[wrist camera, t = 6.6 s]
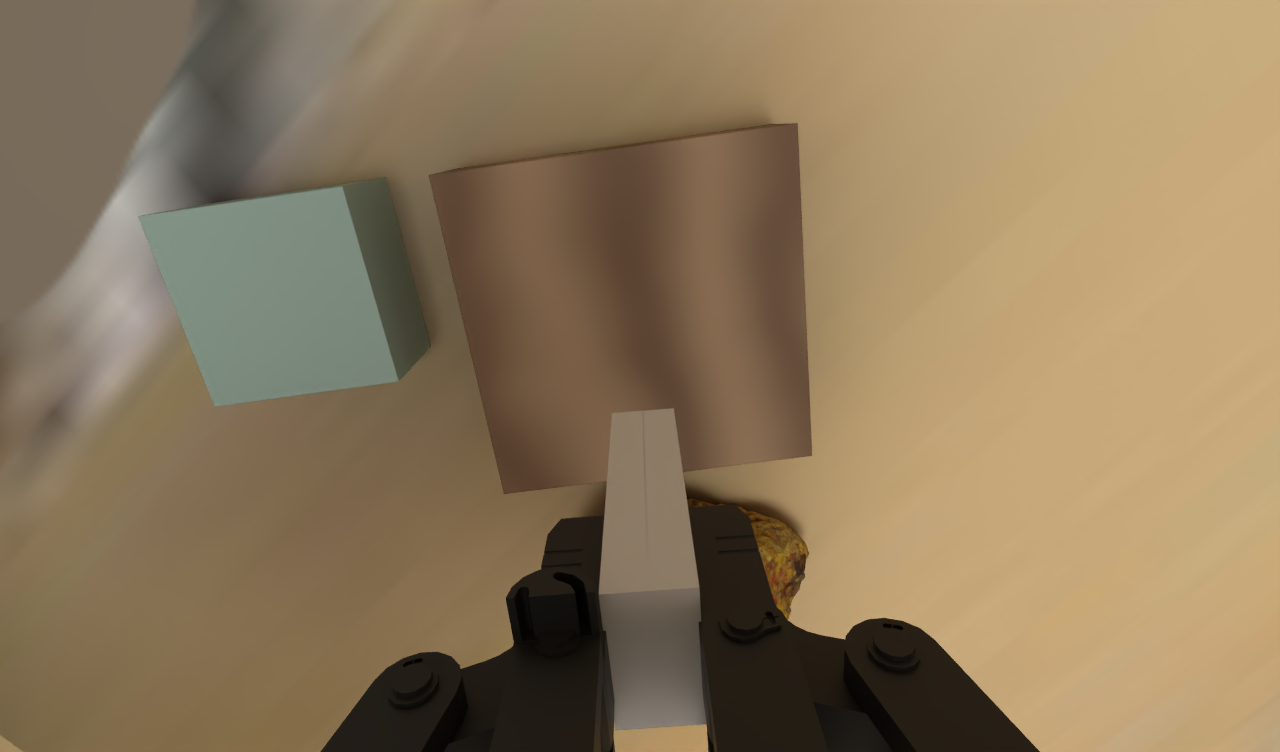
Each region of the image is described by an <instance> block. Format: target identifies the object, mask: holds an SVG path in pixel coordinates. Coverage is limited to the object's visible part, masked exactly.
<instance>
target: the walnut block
mask: <svg viewBox="0 0 1280 752" xmlns="http://www.w3.org/2000/svg"><path fill="white" fill-rule="evenodd" d="M429 178H430V183H431V187H432V191H433V195H434V200H435V204H436V208H437V212H438V217H439V221H440V225H441V229H442V233H443V238H444V242H445V246H446V250H447V255H448V259H449V263H450V267H451V272H452V276H453V280H454V284H455V288H456V293H457V297H458V301H459V305H460V310H461V314H462V318H463V322H464V326H465V331H466V335H467V339H468V343H469V348H470V352H471V356H472V360H473V365H474V369H475V373H476V377H477V381H478V386H479V390H480V394H481V398H482V403H483V407H484V411H485V415H486V419H487V424H488V428H489V432H490V436H491V441H492V445H493V449H494V453H495V458H496V462H497V466H498V470H499V474H500V479H501V483H502V487H503V491H504V494H508V493H516V492H524V491H532V490H540V489H548V488H557V487H565V486H573V485H581V484H589V483H597V482H605V481H607V474H608V461H609V447H610V434H611V420H612V413H619V412H632V411H645V410H658V409H671V408H674V413H675V420H676V427H677V434H678V441H679V448H680V455H681V462H682V469H683V472H685V471H693V470H701V469H709V468H717V467H725V466H733V465H741V464H749V463H757V462H765V461H773V460H781V459H789V458H797V457H805V456H812V444H811V421H810V398H809V375H808V352H807V329H806V306H805V283H804V260H803V237H802V215H801V192H800V169H799V146H798V123H795V124H770V125H763V126H756V127H749V128H742V129H735V130H728V131H721V132H714V133H706V134H699V135H692V136H685V137H678V138H671V139H664V140H657V141H650V142H642V143H635V144H628V145H621V146H614V147H607V148H600V149H593V150H586V151H578V152H571V153H564V154H557V155H550V156H543V157H536V158H529V159H522V160H515V161H507V162H500V163H493V164H486V165H479V166H472V167H465V168H458V169H454V170H449V171H445V172H441V173H436V174H432V175H429Z"/></svg>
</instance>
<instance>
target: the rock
mask: <svg viewBox="0 0 1280 752" xmlns="http://www.w3.org/2000/svg"><path fill="white" fill-rule="evenodd" d="M687 504H688V508H691V507H705V506H718V505H714V504H711V503H707V502H703V501H700V500H697V499H687ZM719 505H723V504H721V503H720V504H719ZM738 508H739V509H741V510H742V511H743V512H744V513H745V514H746V515H747V516H748V517H749V518H750V521H751V525H752V528H753V531H754V535H755V538H756V542H757V545H758V548H759V552H760V555H761V558H762V562H763V565H764V569H765V572H766V575H767V579H768V582H769V585H770V589H771V592H772V596H773V599H774V602H775V604H776V606H777V608H778V609H780V610H781V611H782V612H783V614H784V615H785V617H786V619H787V620H788V618H789V615H790V612H791V609H790V606H791V602H792V599H793V597H794V596H795V595H796V593H797V592H798V591H799V588H800V584H801V581H802V580H803V579H804V578H805V574H804V570H805V563H806V559H807V557H808V555H809V552H808V549H807V546H806V544H805V542H804V541H803V540H802V538H801V537H800V536H799V535H798V534H797V533H796V532H795V531H793V530H792V529H791V528H789V527H788V526H787V525H785V524H784V523H783V522H781V521H779V520H777V519H774V518H770V517H767V516H764V515H761V514H759V513H756V512H753V511H750V512H748V511H746V510H745V509H743V508H741V507H739V506H738Z"/></svg>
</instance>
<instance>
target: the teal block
mask: <svg viewBox="0 0 1280 752" xmlns="http://www.w3.org/2000/svg"><path fill="white" fill-rule="evenodd" d="M138 218H139V220H140V223H141V225H142V228H143V230H144V232H145V235H146V237H147V240H148V242H149V245H150V247H151V250H152V252H153V255H154V257H155V260H156V262H157V265H158V267H159V270H160V272H161V275H162V277H163V280H164V282H165V285H166V287H167V290H168V292H169V295H170V297H171V300H172V302H173V304H174V307H175V309H176V312H177V314H178V317H179V319H180V322H181V324H182V327H183V329H184V332H185V334H186V337H187V339H188V342H189V344H190V347H191V349H192V352H193V354H194V357H195V359H196V362H197V364H198V367H199V369H200V372H201V374H202V376H203V379H204V381H205V384H206V386H207V389H208V391H209V394H210V396H211V399H212V401H213V404H214V406H215V407H216V406H224V405H231V404H238V403H246V402H253V401H260V400H267V399H275V398H282V397H289V396H297V395H304V394H311V393H319V392H326V391H333V390H341V389H348V388H355V387H362V386H370V385H377V384H384V383H392V382H399V381H400V380H401V378H402V377H403V376H404V375H405V374H406V373H407V372H408V371H409V370H410V369H411V367H412V366H413V365H414V364H415V363H416V362H417V361H418V360H419V359H420V357H421V356H422V355H423V354H424V353H425V352H426V351H427V350H428V349H429V348H430V346H431V345H430V341H429V337H428V334H427V330H426V326H425V322H424V319H423V315H422V311H421V307H420V304H419V300H418V296H417V292H416V289H415V285H414V281H413V277H412V274H411V270H410V266H409V262H408V258H407V255H406V251H405V247H404V243H403V240H402V236H401V232H400V228H399V225H398V221H397V217H396V213H395V210H394V206H393V202H392V198H391V195H390V191H389V187H388V183H387V180H386V178H379V179H372V180H366V181H359V182H352V183H345V184H338V185H332V186H325V187H318V188H311V189H305V190H298V191H291V192H284V193H277V194H271V195H264V196H257V197H250V198H244V199H237V200H230V201H223V202H216V203H210V204H205V205H199V206H193V207H188V208H182V209H177V210H171V211H166V212H160V213H154V214H149V215H143V216H138Z"/></svg>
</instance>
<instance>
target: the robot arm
mask: <svg viewBox="0 0 1280 752" xmlns="http://www.w3.org/2000/svg"><path fill="white" fill-rule="evenodd" d="M541 567H542V569H541V570H538V571H536V572H534V573H532V574H529V575H527V576H525V577H523V578H522V579H521V580H520V581H518V582H517V583H516V584H515V585H514V586H513V587H512V588H511V590H510V592H509V593H508V595H507V597H506V602H507V608H508V613H509V618H510V623H511V629H512V634H513V639H514V645H513V647H511V648H510V649H509V650H507V651H506V652H504V653H502V654H501V655H499V656H497V657H494V658H492V659H490V660H487V661H485V662H481V663H478V664H475V665H472V666H469V667H466V668H463V669H460V665H459V664H458V663H457V662H456V661H455V660H454V659H453V658H452V657H451V656H449V655H446V654H442V653H439V652H425V653H418V654H415V655H412V656H409V657H406V658H403V659H401V660H400V661H398V662H396V663H395V664H393V665H391V666H390V667H388V668H387V669H385V670H384V671H383V672H382V673H381V674H380V675H379V676H378V677H377V678H376V679H375V680H374V682H373V683H372V684H371V686H370V687H369V688H368V690H367V691H366V692H365V694H364V695H363V696H362V698H361V699H360V700H359V702H358V703H357V704H356V705H355V707H354V708H353V709H352V711H351V712H350V713H349V715H348V716H347V717H346V719H345V720H344V721H343V723H342V724H341V725H340V727H339V728H338V729H337V731H336V732H335V733H334V735H333V736H332V737H331V739H330V740H329V741H328V743H327V744H326V745H325V747H324V748H323V749H322V751H321V752H615V747H614V739H613V734H614V722H615V730H627V729H642V728H657V727H672V726H686V725H701V724H707V735H708V752H1040V751H1039V750H1038V749H1037V748H1036V747H1035V746H1034V745H1033V744H1032V743H1031V742H1030V741H1029V740H1028V739H1027V738H1026V737H1025V735H1024V734H1023V733H1022V732H1021V731H1020V730H1019V729H1018V728H1017V727H1016V726H1015V725H1014V724H1013V723H1012V722H1011V721H1010V720H1009V718H1008V717H1007V716H1006V715H1005V714H1004V713H1003V712H1002V711H1001V710H1000V709H999V708H998V707H997V706H996V705H995V704H994V702H993V701H992V700H991V699H990V698H989V697H988V696H987V695H986V694H985V693H984V692H983V691H982V690H981V689H980V688H979V686H978V685H977V684H976V683H975V682H974V681H973V680H972V679H971V678H970V677H969V676H968V675H967V674H966V673H965V672H964V671H963V669H962V668H961V667H960V666H959V665H958V664H957V663H956V662H955V661H954V660H953V659H952V658H951V657H950V656H949V655H948V653H947V652H946V651H945V650H944V649H943V648H942V647H941V646H940V645H939V644H938V643H937V642H936V641H935V640H934V639H933V638H932V637H930V636H929V635H928V634H927V633H925V632H924V631H923V630H921V629H920V628H918V627H915V626H913V625H911V624H908V623H906V622H904V621H899V620H893V619H887V618H879V619H869V620H865V621H863V622H861V623H859V624H857V625H855V626H853V628H852V629H851V630H850V631H849V633H848V634H847V635H846V639H845V640H844V639H839V638H833V637H827V636H822V635H818V634H814V633H810V632H807V631H805V630H803V629H801V628H799V627H796V626H795V625H793V624H792V623H791V622H789V621H788V620H787V619H786V617H785V615H784V614H783V612H782V611H781V610H780V609H778V608H777V606H776V604H775V602H774V599H773V596H772V592H771V589H770V585H769V582H768V579H767V575H766V572H765V569H764V565H763V562H762V558H761V555H760V552H759V548H758V545H757V542H756V538H755V535H754V531H753V528H752V525H751V521H750V518H749V517H748V516H747V515H746V514H745V513H744V512H743V511H742V510H741V509H739V508H738V507H737V506H736V505H735V504H732V505H718V506H705V507H691V508H688V504H687V497H686V490H685V483H684V476H683V469H682V462H681V455H680V448H679V441H678V434H677V427H676V420H675V413H674V408H671V409H658V410H645V411H632V412H619V413H612V420H611V434H610V447H609V461H608V474H607V488H606V501H605V514H604V516H593V517H579V518H566V519H561V520H560V521H559V522H558V523H557V524H556V526H555V527H554V528H553V529H552V530H551V531H550V533H549V534H548V537H547V541H546V546H545V551H544V556H543V560H542V565H541Z"/></svg>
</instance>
